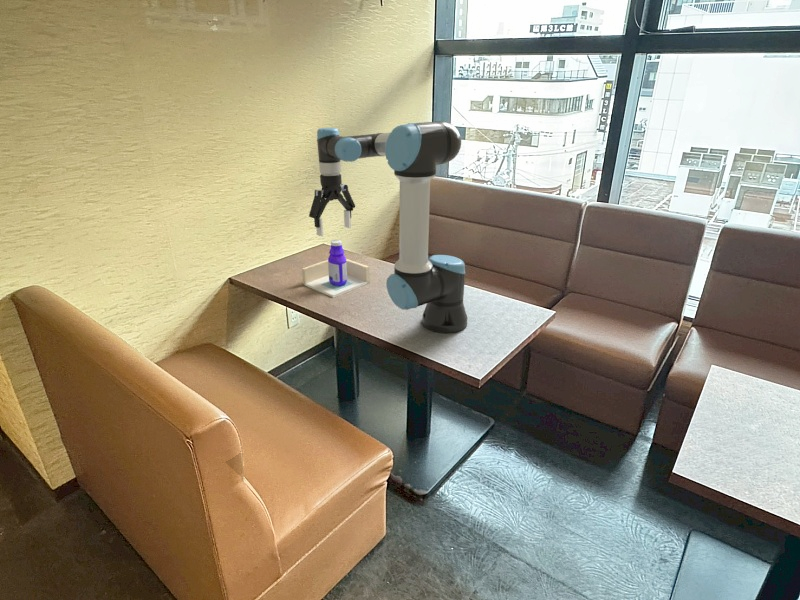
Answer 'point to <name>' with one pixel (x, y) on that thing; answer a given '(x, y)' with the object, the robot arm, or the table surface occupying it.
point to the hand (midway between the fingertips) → (334, 231)
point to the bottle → (337, 264)
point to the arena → (319, 281)
